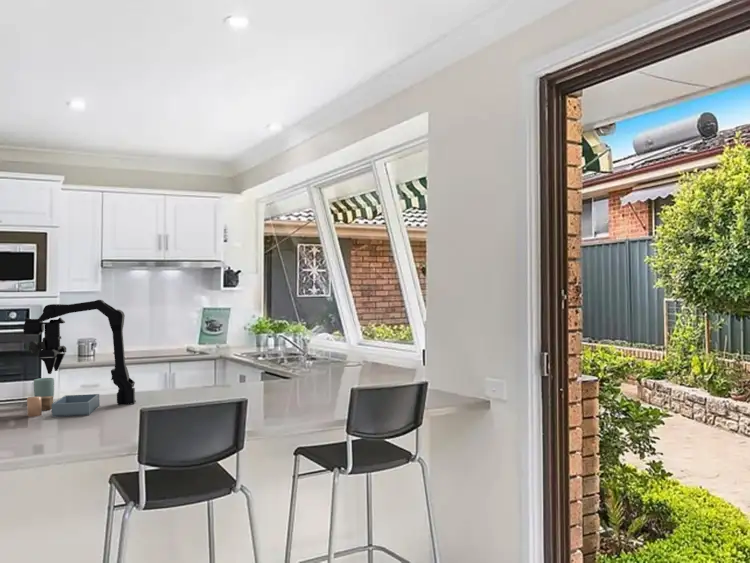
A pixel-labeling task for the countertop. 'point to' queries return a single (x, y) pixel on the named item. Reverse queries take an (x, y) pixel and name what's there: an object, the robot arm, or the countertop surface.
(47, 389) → the cup
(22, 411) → the countertop surface
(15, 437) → the countertop surface
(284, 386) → the countertop surface
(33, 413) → the terracotta cylinder
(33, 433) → the countertop surface
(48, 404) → the walnut cube
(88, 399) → the slate tote
